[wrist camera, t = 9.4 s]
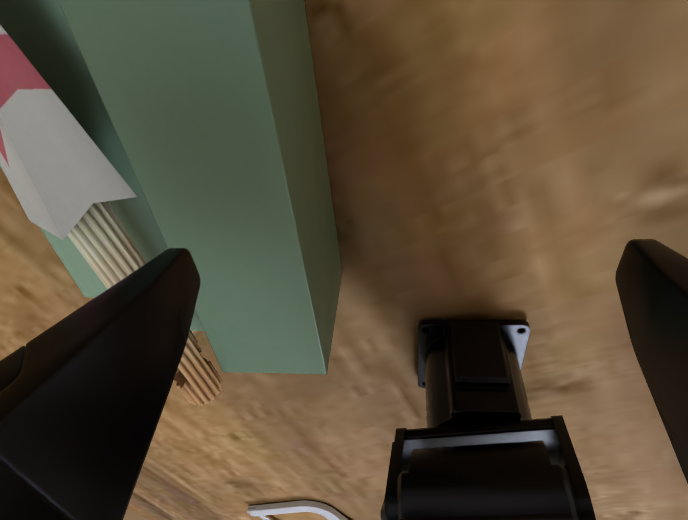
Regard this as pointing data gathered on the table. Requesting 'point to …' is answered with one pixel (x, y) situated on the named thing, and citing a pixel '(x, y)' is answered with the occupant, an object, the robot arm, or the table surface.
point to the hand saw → (295, 509)
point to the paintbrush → (75, 191)
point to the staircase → (206, 157)
